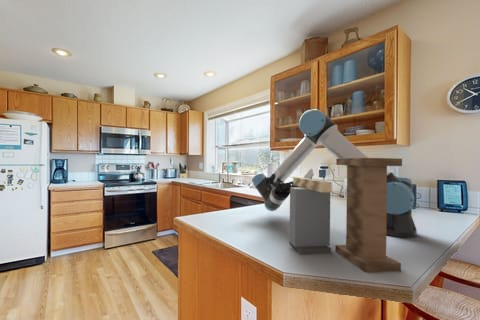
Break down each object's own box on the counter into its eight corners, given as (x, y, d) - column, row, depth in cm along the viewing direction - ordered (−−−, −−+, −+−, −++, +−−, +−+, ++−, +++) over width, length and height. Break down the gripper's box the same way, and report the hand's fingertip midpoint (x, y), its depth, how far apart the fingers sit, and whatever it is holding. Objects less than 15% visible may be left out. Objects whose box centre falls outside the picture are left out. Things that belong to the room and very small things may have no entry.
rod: (293, 185, 90) (293, 177, 90) (300, 185, 90) (300, 177, 90) (321, 192, 68) (322, 181, 68) (331, 192, 69) (331, 182, 69)
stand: (335, 251, 76) (336, 158, 77) (363, 250, 78) (364, 159, 78) (367, 272, 61) (368, 157, 62) (401, 270, 63) (402, 158, 63)
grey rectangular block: (286, 243, 83) (287, 186, 83) (318, 242, 85) (319, 186, 85) (297, 254, 73) (298, 190, 73) (333, 252, 75) (334, 189, 75)
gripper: (306, 200, 109) (328, 180, 91) (254, 201, 105) (265, 180, 87) (303, 185, 113) (323, 163, 95) (252, 185, 109) (263, 162, 91)
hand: (295, 171), depth 91 cm, fingers open, 13 cm apart
